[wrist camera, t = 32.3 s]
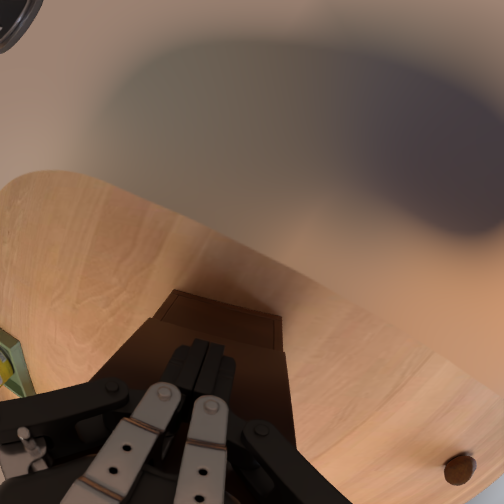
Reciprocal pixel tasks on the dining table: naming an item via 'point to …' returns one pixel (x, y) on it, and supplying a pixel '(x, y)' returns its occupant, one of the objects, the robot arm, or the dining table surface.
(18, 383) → the tray
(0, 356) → the pill bottle
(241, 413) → the lid
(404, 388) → the dining table surface
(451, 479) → the potato
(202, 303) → the brown wooden box
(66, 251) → the dining table surface
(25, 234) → the dining table surface
